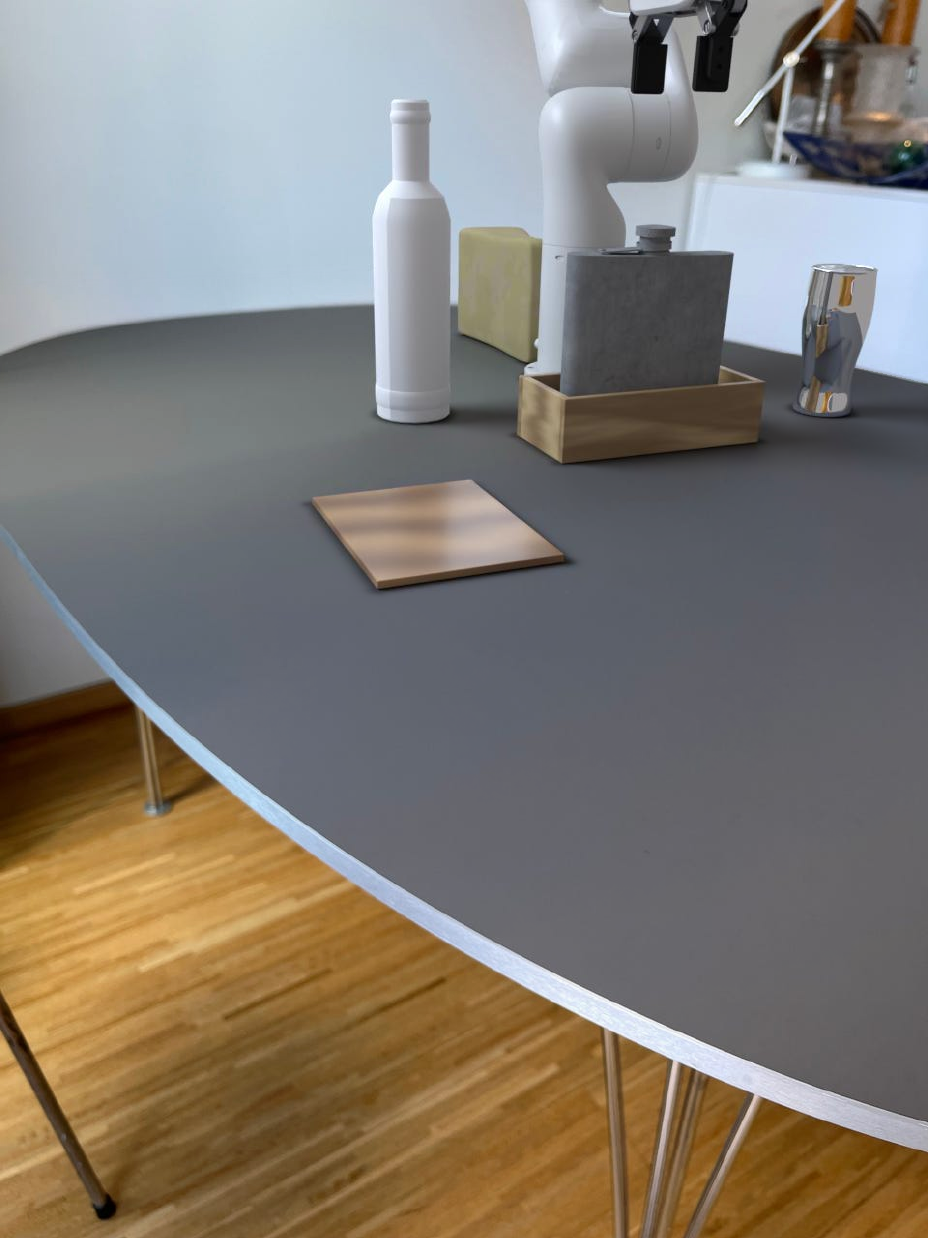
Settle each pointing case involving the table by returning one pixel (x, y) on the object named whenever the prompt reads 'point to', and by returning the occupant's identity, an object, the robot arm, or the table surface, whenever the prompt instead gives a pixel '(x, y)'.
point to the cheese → (500, 288)
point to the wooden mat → (432, 533)
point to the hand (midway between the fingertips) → (677, 92)
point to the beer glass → (833, 336)
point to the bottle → (412, 278)
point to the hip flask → (643, 316)
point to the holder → (638, 417)
